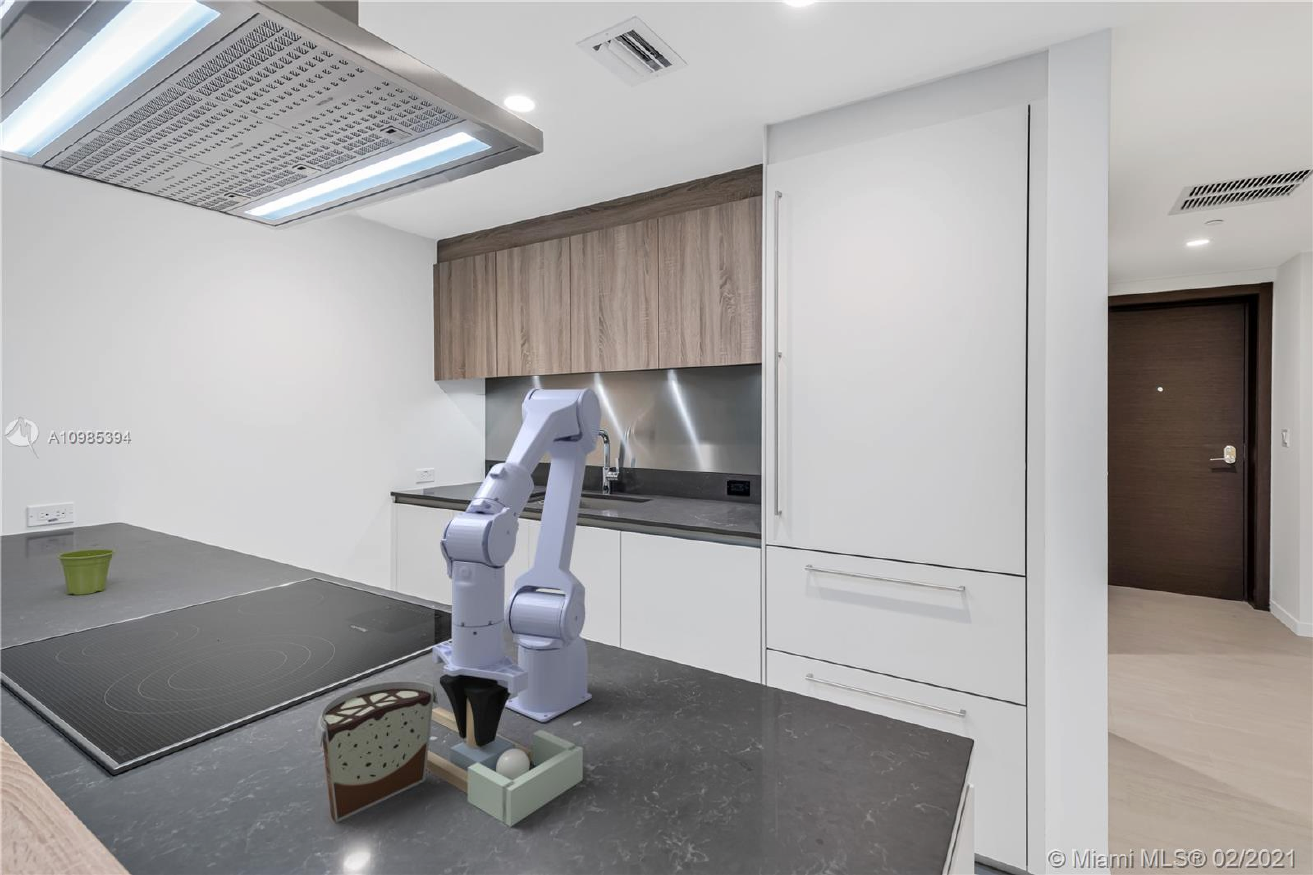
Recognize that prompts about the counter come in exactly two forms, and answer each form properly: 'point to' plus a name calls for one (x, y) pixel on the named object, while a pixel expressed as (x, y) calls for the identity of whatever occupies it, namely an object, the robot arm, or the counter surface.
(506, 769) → the ball
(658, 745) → the counter surface
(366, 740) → the food container
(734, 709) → the counter surface
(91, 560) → the plant pot
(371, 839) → the counter surface
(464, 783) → the lane
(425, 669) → the counter surface
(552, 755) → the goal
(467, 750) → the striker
